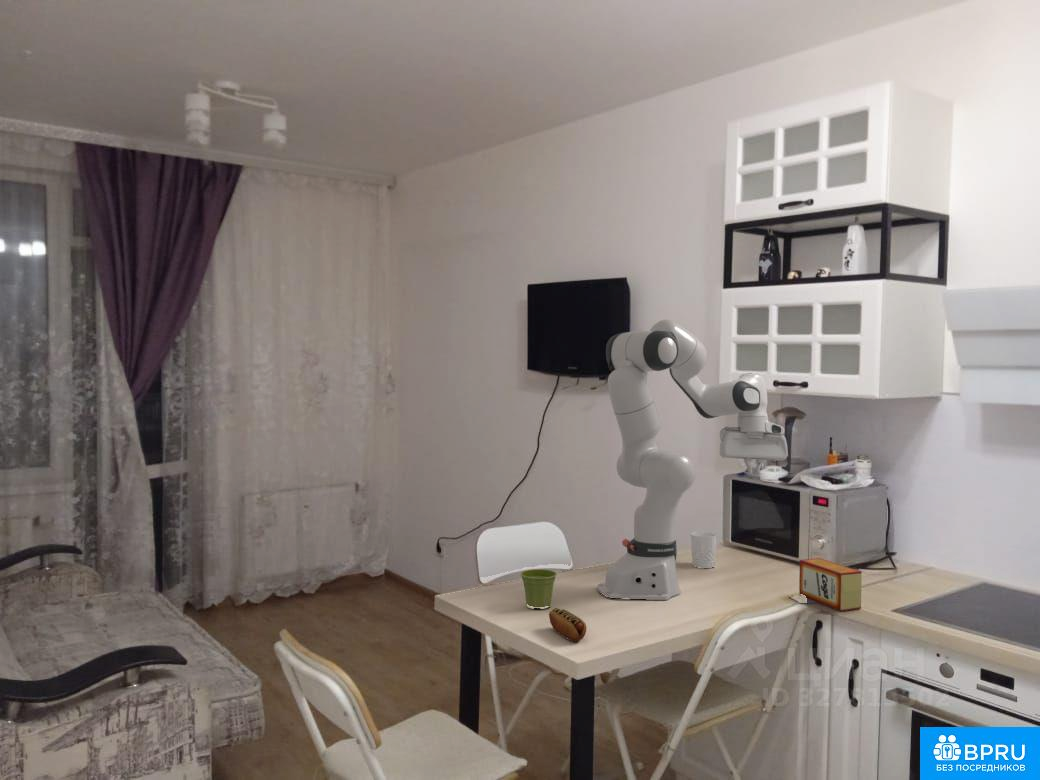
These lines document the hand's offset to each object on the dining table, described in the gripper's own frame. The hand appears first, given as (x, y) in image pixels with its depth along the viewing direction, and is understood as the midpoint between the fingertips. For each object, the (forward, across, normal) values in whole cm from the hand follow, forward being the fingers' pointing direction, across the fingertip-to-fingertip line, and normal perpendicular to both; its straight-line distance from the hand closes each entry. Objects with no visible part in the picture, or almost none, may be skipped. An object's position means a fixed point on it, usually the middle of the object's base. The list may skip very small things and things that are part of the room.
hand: (754, 474), depth 247 cm
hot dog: (+43, -64, -40) cm, 86 cm away
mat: (+35, +7, -21) cm, 41 cm away
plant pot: (+38, -67, -17) cm, 79 cm away
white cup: (+28, -10, +17) cm, 34 cm away
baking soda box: (+29, +7, -17) cm, 34 cm away
